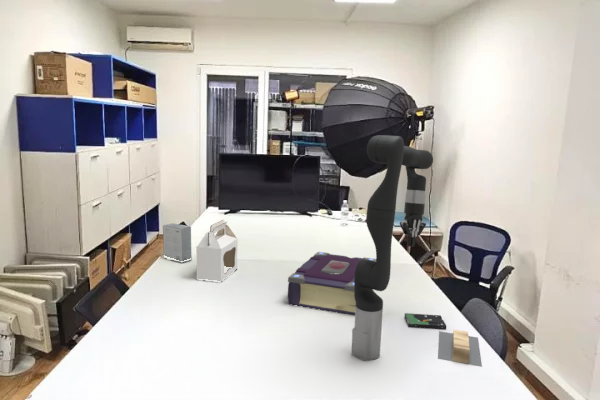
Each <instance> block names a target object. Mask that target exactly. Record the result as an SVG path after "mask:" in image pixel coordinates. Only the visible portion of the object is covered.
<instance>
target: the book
mask: <svg viewBox="0 0 600 400" xmlns="http://www.w3.org/2000/svg"><path fill="white" fill-rule="evenodd" d="M362 259H367V260H371V261H375V262H376V258H371V257H364V256H363V257H356V256H355V257H348V256H347V255H339V254H332V253H330V252H323V251H317V252H316V253H315V254H313V256H311V257H309V259H308V260H306V261H305V262H304V263H303V264H301V266H300V267H298V268H297V269H296V270H295V272H292V273H291V274H290V275H289V276H288V278H287V282H288V285H287V300H288V305H290V304H292V305H291V306H294V305H297V306H296V307H300V306H303V307H302V308H306V307H309V308H308V309H312V308H315V309H314V310H318V309H320V311H324V310H326V311H327V312H330V311H331V312H332V313H336V312H337V313H338V314H344V315H350V316H355V308H356V301H355V297H354V275H355V269H356V266H357V264H358V262H359V261H360V260H362Z"/></svg>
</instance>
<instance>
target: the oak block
mask: <svg viewBox="0 0 600 400" xmlns="http://www.w3.org/2000/svg"><path fill="white" fill-rule="evenodd" d="M452 333H453V340H452V356H453V361H457V362H456V363H458V362H462V363H461V364H464V363H468V362H469V352H470V348H469V337H468V336H469V331H465V330H457V329H453V332H452ZM453 361H452V362H453Z"/></svg>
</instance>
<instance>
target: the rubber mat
mask: <svg viewBox="0 0 600 400" xmlns="http://www.w3.org/2000/svg"><path fill="white" fill-rule="evenodd" d="M468 337H469V348H470V352H469V362H468V363H462V362H457V361H453V356H452V340H453V332H446V331H441V330H440V331H439V332H438V344H437V345H438V349H437V360H442V361H448V362H453V363H459V364H465V365H471V366H475V367H481V368H482V367H483V364H482V357H481V356H482V355H481V350H480V342H479V337H477V336H471V335H468Z"/></svg>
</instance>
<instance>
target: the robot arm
mask: <svg viewBox="0 0 600 400" xmlns="http://www.w3.org/2000/svg"><path fill="white" fill-rule="evenodd" d="M366 154H367V156H368V159H369V160H370V161H371V162H373V163H375V164H385V165H387V167H386V171H385V176H384V178H383V180H382V181H381V183H380V184H379V186H378V187H377V188H376V189H375V191H374V192H373V193H372V195H371V196H370V198H369V200H368V202H367V209H366V217H365V220H366V221H365V222H366V227H367V229H368V232H369V234H370V236H371V239H372V242H373V244H374V246H375V253H376V255H375V259H376V262H375V261H371V260H367V259H362V260H360V261H359V262H358V264H357V266H356V269H355V275H354V297H355V301H356V308H355V315H354V327H353V328H352V329H351V332H352V335H351V351H350V352H351V353H350V354H351V355H353V356H355V357H356V358H358V359H360V360H362V361H363V362H365V361H373V360H377V359H378V358H380V356H381V354H380V353H381V346H382V345H381V344H382V343H381V342H382V341H381V340H382V327H383V312H384V300H383V299H382V297H381V296H379V295H378V294H377V293H376V292H375V291H377V292H383V291H385V290H386V289H387V288H388V285H389V282H390V278H391V269H392V267H391V265H392V264H391V262H392V261H391V260H392V259H391V258H392V240H393V232H394V224H395V218H396V210H397V207H396V206H397V195H398V188H399V181H400V174H401V171H402V166H405V171H406V177H407V178H406V179H407V182H406V193H405V199H404V210H403V213H404V214H405V215H404V220H402V221H400V222H399V227H400V228H401V230H402V231H403V232H402V233H403V234H404V235H405V236H407V246H408V247H411V248H413V247H415V246H416V239H417V237H418V236H421V234H422V233H423V231H424V230H425V228H426V226H427V223H426V222H424V221H423V216H424V215H425V205H426V187H427V186H426V185H427V178H426V176H424V175H421V174H418V173H417V172H416V170H427V169H429V168H430V167H432V165H433V164H434V157H433V154H432V152H430V151H428V150H425V149H418V148H417V149H416V148H414V147H411V146H408V145H405V142H404V139H403V137H402V136H400V135H386V134H385V135H384V134H383V135H381V134H378V135H374V136H372V137H370V139H369V141H368V143H367V146H366Z"/></svg>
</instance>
